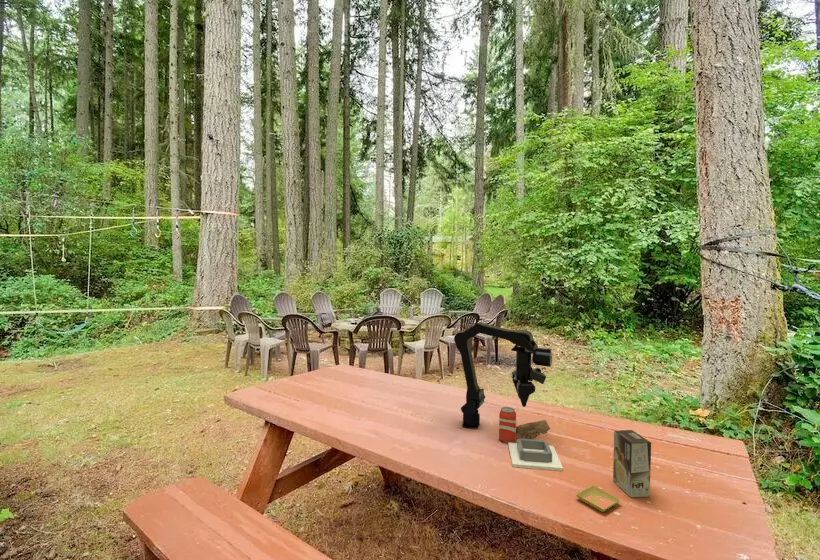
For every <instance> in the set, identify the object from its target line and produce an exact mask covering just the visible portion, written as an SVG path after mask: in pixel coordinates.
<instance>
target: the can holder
mask: <svg viewBox="0 0 820 560" xmlns="http://www.w3.org/2000/svg"><path fill="white" fill-rule="evenodd" d="M507 445H508V450H509V455H510V456H509V457H510V460H511V465H512V467H513V468H519V469H520V468H521V469H534V470H546V471H559V472H563V471H564V467H563V465H562V463H561V460H560V458H559V456H558V453H557V451H556V448H555V447H554V445H549V443H548V441H547V440H543V439H534V440H533V439H516V442H512V443H509V442H508V443H507Z"/></svg>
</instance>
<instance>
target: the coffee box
mask: <svg viewBox="0 0 820 560" xmlns="http://www.w3.org/2000/svg"><path fill="white" fill-rule="evenodd" d="M651 462H652V441H650V440H648V439H646V438H645V437H643V436H642V435H641V434H639V433H637V432H636V431H635V430H633V429H623V430H622V429H621V430H613V470H612V473H613V474H612V478H613V479H612V482H614V483H615V484H616V485H617V486H618V485H619V486H618V487H619V488H620V489H621V490H623V492H625V494H626V495H628V496H629V498H647V497H651V470H652V469H651V467H652V465H651V464H652V463H651Z"/></svg>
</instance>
